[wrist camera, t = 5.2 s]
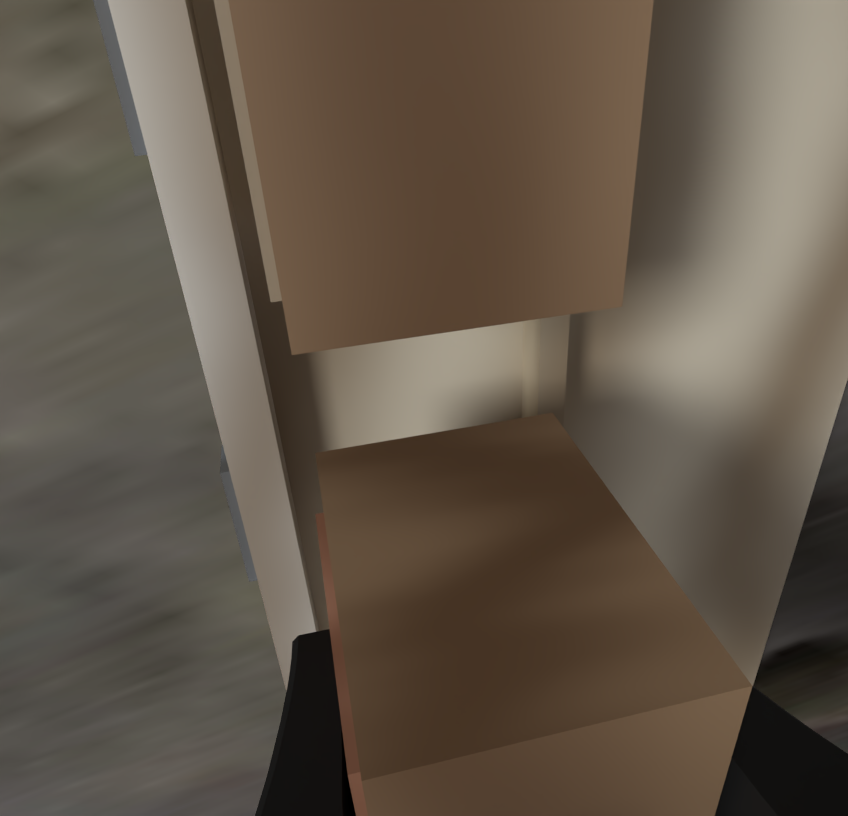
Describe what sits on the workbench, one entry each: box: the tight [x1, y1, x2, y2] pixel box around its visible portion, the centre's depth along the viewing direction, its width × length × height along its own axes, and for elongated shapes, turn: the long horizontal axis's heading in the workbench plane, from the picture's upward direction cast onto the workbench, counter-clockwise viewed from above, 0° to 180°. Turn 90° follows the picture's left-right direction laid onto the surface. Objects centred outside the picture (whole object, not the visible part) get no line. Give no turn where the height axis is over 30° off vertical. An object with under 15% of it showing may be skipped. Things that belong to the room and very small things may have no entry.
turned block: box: [315, 413, 752, 816], centre depth 11 cm, size 4×6×6 cm
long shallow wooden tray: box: [93, 0, 848, 691], centre depth 17 cm, size 15×28×2 cm, turn 4°
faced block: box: [214, 0, 654, 355], centre depth 9 cm, size 4×6×6 cm
